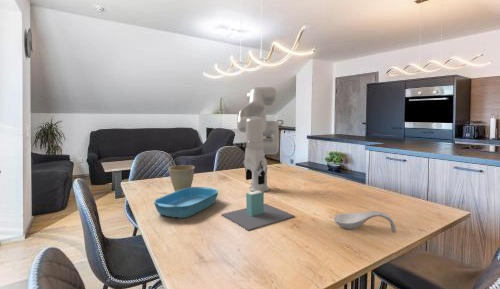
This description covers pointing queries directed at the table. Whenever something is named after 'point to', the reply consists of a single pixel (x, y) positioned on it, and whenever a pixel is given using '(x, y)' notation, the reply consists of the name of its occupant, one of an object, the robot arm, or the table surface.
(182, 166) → the plant pot
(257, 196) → the teal rectangular block
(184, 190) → the casserole dish
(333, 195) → the table surface
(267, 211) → the mat
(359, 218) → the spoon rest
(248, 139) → the robot arm
